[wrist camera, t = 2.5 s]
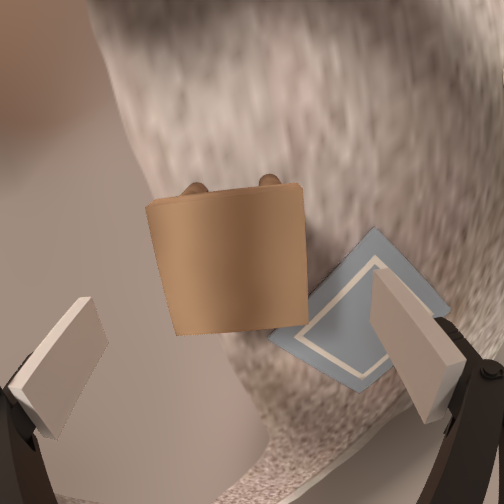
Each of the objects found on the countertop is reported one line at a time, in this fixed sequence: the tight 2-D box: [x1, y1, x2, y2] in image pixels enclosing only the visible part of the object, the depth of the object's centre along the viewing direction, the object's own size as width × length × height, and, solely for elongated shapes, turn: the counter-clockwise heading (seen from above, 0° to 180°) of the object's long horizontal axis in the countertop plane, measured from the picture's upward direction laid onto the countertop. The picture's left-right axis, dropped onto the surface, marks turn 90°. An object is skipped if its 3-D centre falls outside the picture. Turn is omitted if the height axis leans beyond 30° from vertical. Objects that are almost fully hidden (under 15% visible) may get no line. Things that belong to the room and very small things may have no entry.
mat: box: [267, 227, 451, 394], centre depth 29 cm, size 14×14×1 cm
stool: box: [145, 174, 309, 336], centre depth 21 cm, size 8×8×9 cm
